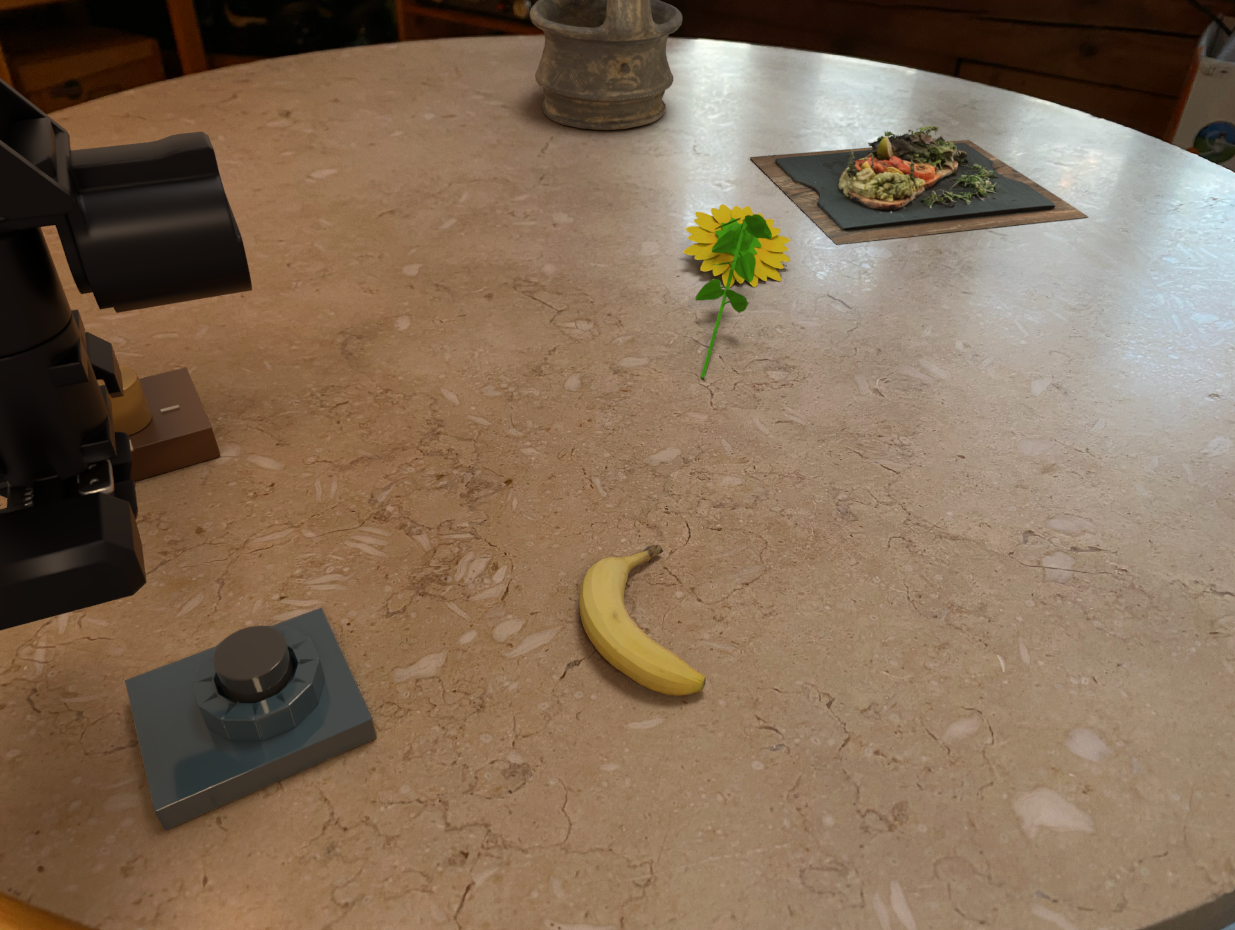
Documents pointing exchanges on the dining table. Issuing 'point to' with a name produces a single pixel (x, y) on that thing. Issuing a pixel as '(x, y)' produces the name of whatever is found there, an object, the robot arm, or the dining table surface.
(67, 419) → the robot arm
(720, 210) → the flower
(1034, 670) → the dining table surface
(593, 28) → the clay pot
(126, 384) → the knob
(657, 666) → the fruit
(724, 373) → the dining table surface
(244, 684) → the dark rotary knob
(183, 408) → the panel
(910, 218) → the plated dish
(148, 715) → the knob base
